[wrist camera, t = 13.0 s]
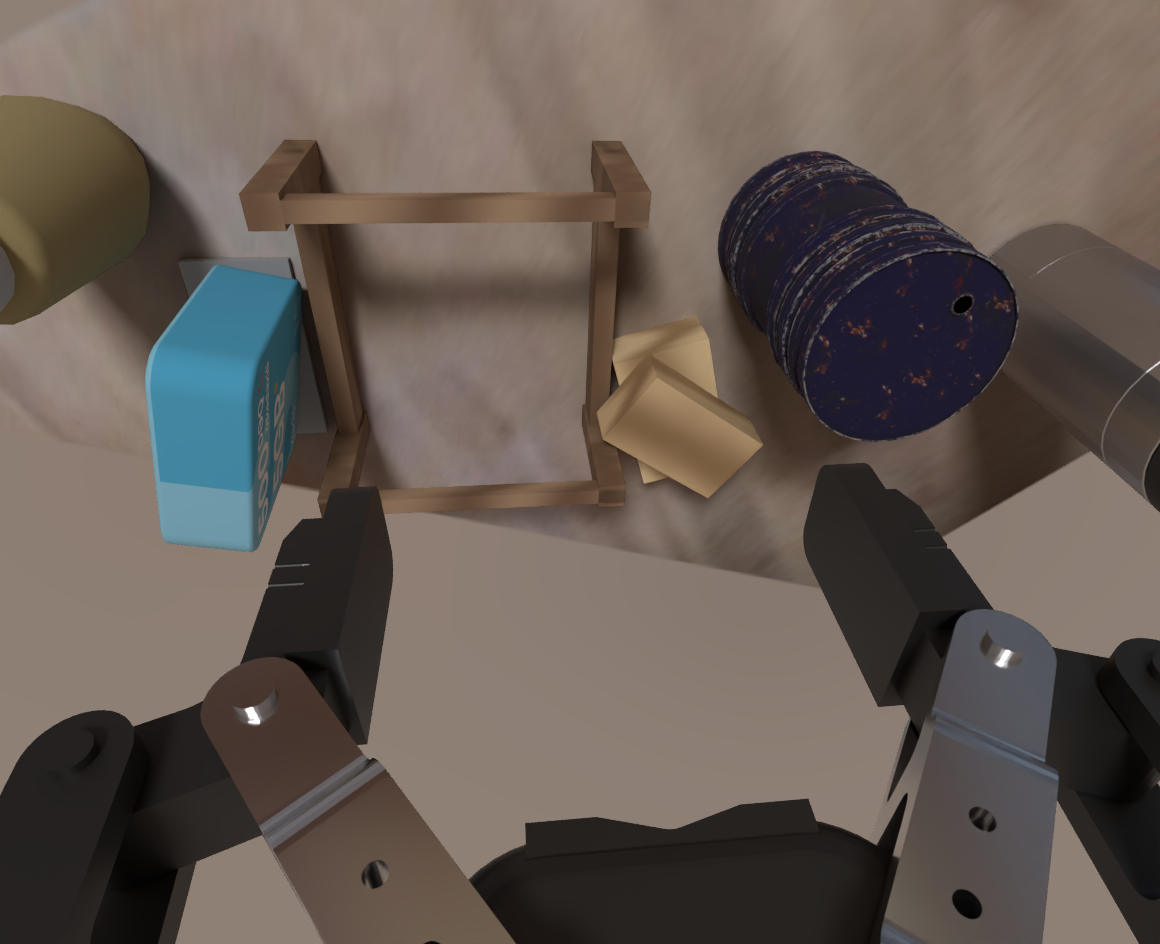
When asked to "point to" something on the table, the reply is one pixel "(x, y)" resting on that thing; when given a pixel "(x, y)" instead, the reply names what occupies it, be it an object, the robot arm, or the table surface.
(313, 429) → the mat
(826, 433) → the table surface
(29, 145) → the squeeze bottle
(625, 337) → the offcut lower
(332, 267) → the frame
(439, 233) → the table surface
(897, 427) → the dark navy cylinder
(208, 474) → the blue rounded block
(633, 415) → the offcut upper
